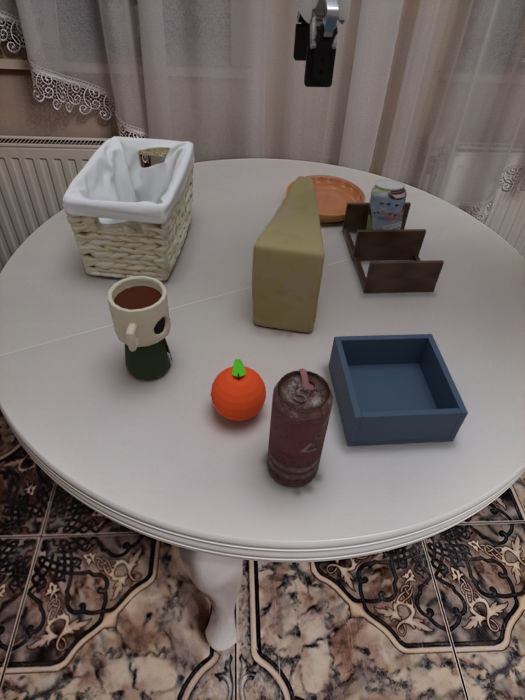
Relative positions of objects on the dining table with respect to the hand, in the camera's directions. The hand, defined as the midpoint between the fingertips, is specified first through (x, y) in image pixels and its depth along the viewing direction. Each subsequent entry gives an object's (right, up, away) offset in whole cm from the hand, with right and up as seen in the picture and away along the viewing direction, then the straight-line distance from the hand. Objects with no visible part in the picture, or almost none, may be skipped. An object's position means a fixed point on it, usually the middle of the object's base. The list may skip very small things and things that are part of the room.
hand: (311, 72), depth 62 cm
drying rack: (+16, -18, +29) cm, 38 cm away
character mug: (-22, -36, +9) cm, 43 cm away
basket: (-27, -15, +30) cm, 43 cm away
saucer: (+7, -5, +42) cm, 43 cm away
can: (-2, -48, -2) cm, 48 cm away
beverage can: (+16, -15, +33) cm, 39 cm away
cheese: (-1, -24, +23) cm, 33 cm away
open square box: (+11, -41, +6) cm, 43 cm away
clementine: (-9, -42, +4) cm, 43 cm away
